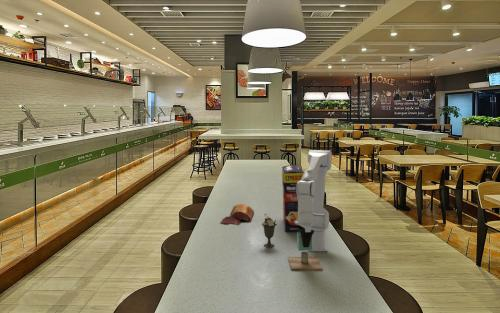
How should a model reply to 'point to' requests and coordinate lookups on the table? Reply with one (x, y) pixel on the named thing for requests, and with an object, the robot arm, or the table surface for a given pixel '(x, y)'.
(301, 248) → the teal block
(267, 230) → the sundae
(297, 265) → the stand
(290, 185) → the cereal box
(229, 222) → the cured meat
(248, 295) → the table surface
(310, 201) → the robot arm
